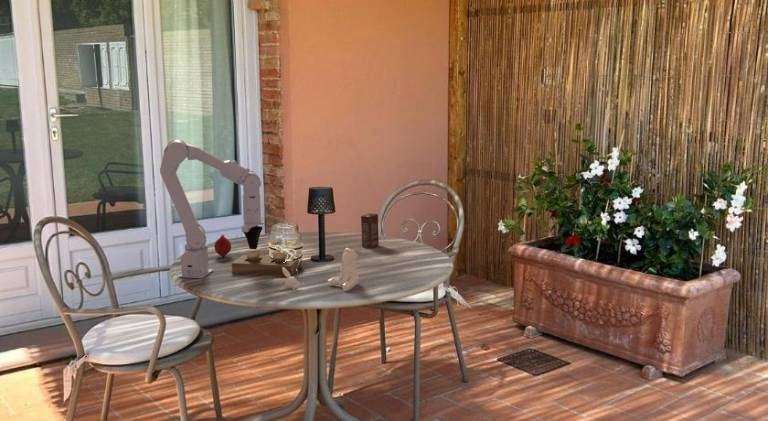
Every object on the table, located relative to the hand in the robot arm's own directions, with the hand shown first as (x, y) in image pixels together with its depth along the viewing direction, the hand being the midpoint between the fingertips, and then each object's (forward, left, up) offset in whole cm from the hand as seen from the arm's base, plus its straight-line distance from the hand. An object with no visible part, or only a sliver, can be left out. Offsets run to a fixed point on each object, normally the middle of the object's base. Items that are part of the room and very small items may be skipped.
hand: (253, 248), depth 258 cm
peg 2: (0, -9, -4) cm, 10 cm away
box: (+39, -31, -7) cm, 51 cm away
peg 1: (0, 0, -4) cm, 4 cm away
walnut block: (0, -4, -7) cm, 8 cm away
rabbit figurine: (-17, -16, -7) cm, 25 cm away
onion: (+14, +17, -7) cm, 23 cm away
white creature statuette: (-12, -34, -7) cm, 37 cm away
